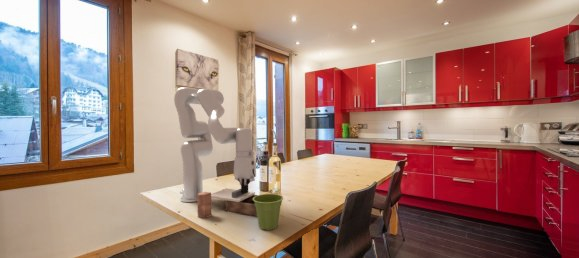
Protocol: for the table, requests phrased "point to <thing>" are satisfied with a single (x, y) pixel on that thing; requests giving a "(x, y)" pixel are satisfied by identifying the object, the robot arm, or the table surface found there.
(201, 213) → the salmon orange block
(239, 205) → the toolbox
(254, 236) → the table surface
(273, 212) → the plant pot
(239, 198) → the toolbox lid
